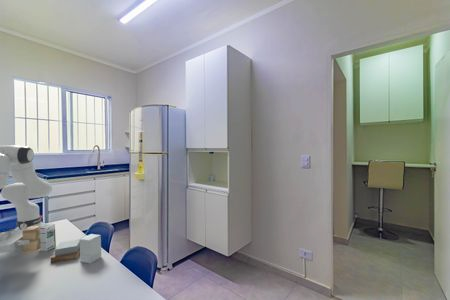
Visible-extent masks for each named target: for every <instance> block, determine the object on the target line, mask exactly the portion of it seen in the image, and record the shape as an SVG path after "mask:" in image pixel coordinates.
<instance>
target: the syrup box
mask: <svg viewBox="0 0 450 300" xmlns="http://www.w3.org/2000/svg"><path fill="white" fill-rule="evenodd" d="M45 224H46V225H43V226H41V227H40V242H41V248H40V249H39V250H38V251H42V252H48V251H49V250H51V249H52V250H53V248H57V244H56V243H57V242H56V225H55V224H54V223H45Z"/></svg>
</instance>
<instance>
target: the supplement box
mask: <svg viewBox="0 0 450 300" xmlns="http://www.w3.org/2000/svg"><path fill="white" fill-rule="evenodd" d="M101 236H102V235H101V234H94V233H90V234H88V235H85V236H84V237H82V238H78V239H79V240H80V255H79V259H80V261H79V262H80V263H86V264H92V263H94V262H95V261H97V260H98V259H100V258H102V237H101Z"/></svg>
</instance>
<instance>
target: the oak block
mask: <svg viewBox="0 0 450 300" xmlns="http://www.w3.org/2000/svg"><path fill="white" fill-rule="evenodd" d="M22 232H23V240H26V239H31V242H30V243H28V244H23V245H22V249H23V255H27V254H35V253H36V252H38V251H40V250H39V249H40V248H41V242H40V226H33V227H28V228H26V229H24V230H23V231H22Z"/></svg>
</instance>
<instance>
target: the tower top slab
mask: <svg viewBox="0 0 450 300" xmlns="http://www.w3.org/2000/svg"><path fill="white" fill-rule="evenodd" d="M79 239H80V238H77V239H73V240H66V241H60V242H59V243H58V245H56V247H55V249H54V254H55V256H58V255H64V254H69V253H75V252H77V251H78V249H79V247H80V240H79Z"/></svg>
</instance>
